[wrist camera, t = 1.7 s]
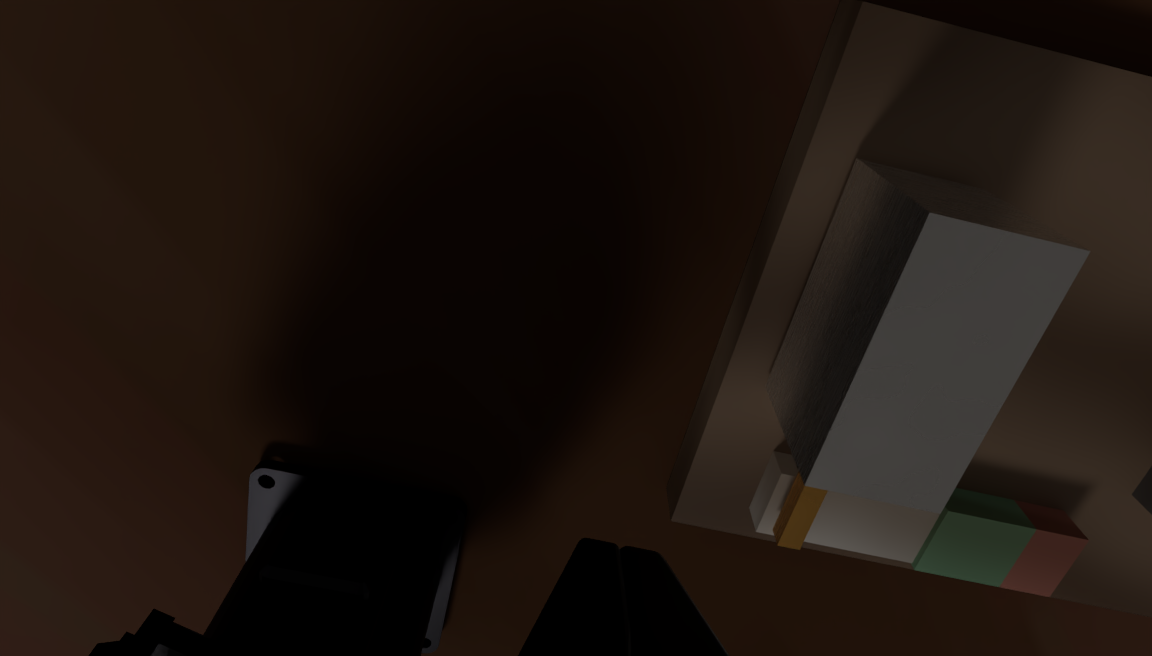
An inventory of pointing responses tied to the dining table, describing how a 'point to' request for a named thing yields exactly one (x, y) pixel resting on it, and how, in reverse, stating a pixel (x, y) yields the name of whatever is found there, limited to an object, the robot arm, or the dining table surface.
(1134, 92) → the gauge base
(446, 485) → the dining table surface
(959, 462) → the push plate
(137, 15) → the dining table surface
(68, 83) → the dining table surface
